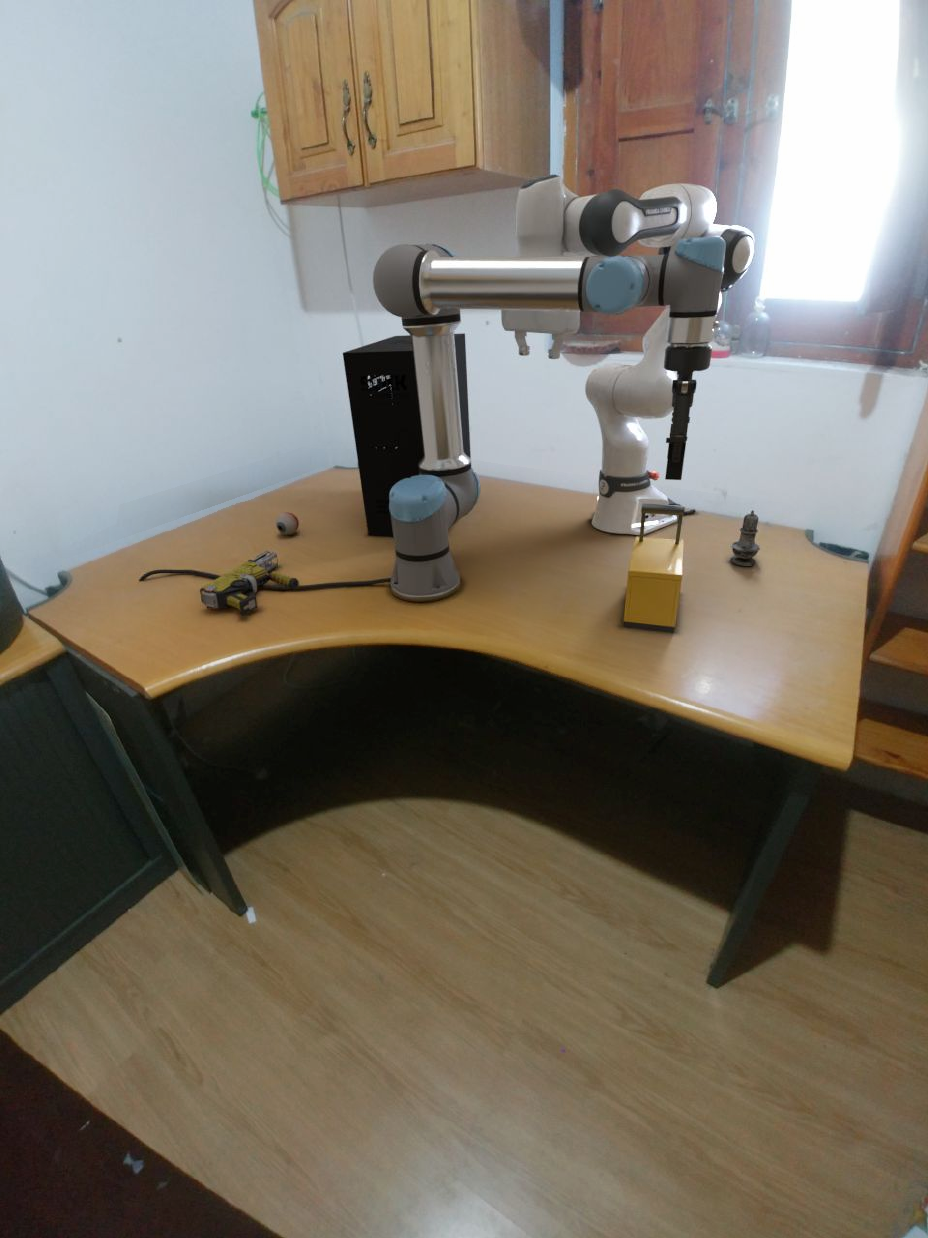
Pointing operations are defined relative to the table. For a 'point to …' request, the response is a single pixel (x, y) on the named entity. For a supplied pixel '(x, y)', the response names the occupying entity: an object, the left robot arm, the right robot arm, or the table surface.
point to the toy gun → (243, 584)
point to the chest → (651, 603)
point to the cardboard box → (391, 419)
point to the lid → (658, 548)
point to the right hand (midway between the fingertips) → (538, 356)
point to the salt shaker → (746, 542)
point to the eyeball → (287, 523)
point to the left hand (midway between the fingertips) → (673, 468)
